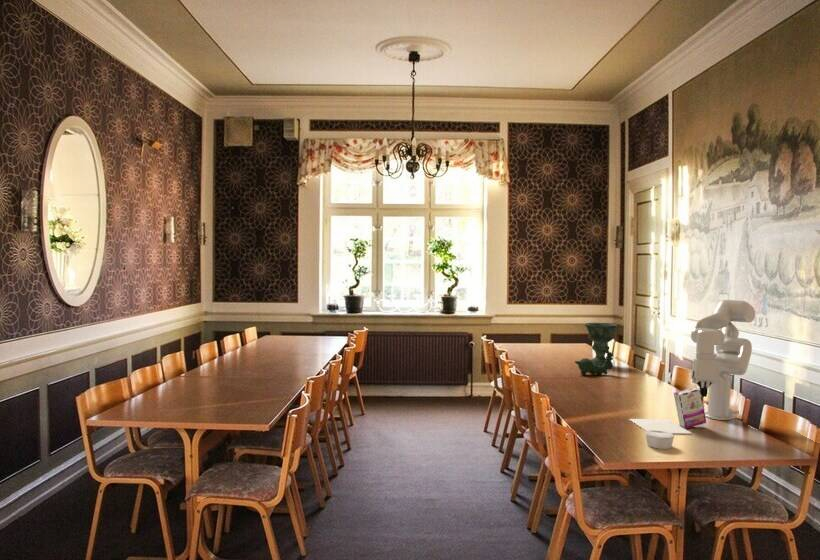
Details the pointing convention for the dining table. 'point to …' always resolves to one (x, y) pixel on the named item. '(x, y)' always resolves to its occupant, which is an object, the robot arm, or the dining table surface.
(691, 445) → the dining table surface
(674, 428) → the mat
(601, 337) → the goblet
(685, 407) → the candy bar box
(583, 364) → the toy figurine
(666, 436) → the ramekin
